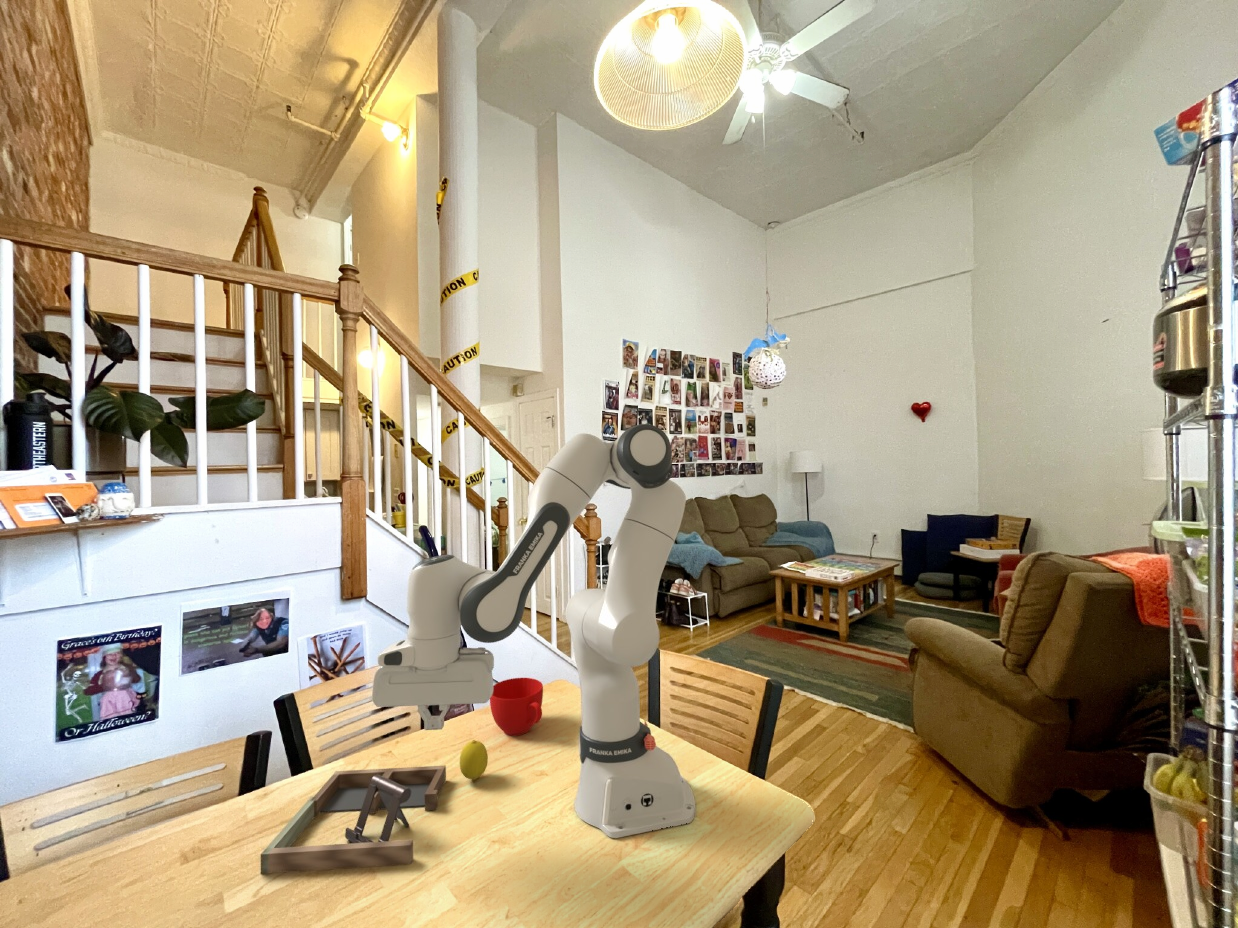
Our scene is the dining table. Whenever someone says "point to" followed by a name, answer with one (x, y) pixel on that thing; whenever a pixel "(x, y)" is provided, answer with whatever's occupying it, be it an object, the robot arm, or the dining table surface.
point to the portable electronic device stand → (392, 799)
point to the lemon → (473, 760)
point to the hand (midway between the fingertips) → (434, 728)
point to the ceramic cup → (517, 704)
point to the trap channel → (353, 854)
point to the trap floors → (355, 795)
